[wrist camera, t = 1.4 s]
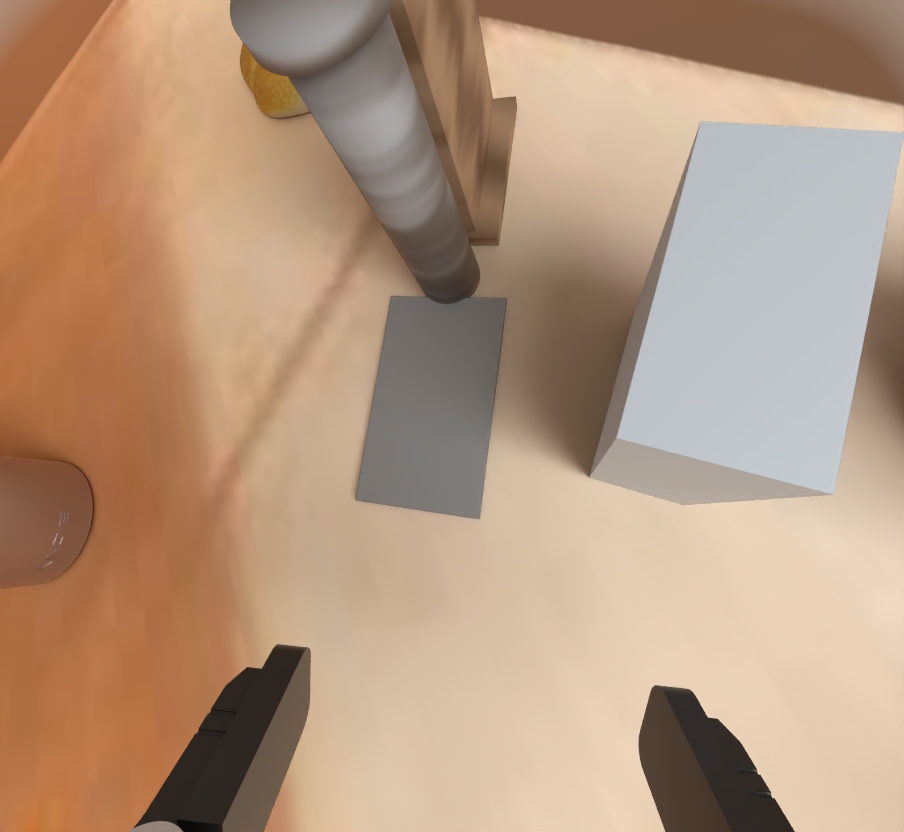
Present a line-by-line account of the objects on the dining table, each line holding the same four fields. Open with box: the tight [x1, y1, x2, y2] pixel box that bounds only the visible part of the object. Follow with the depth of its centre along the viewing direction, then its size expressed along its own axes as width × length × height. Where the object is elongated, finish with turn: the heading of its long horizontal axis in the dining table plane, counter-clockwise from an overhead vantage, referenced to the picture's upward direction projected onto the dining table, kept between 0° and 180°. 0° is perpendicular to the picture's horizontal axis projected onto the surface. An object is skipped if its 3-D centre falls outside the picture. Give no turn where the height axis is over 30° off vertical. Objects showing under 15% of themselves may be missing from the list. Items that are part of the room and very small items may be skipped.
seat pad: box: [356, 296, 507, 519], centre depth 28 cm, size 14×8×1 cm, turn 172°
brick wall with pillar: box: [230, 0, 517, 304], centre depth 23 cm, size 16×6×18 cm, turn 172°
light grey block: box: [589, 121, 904, 505], centre depth 18 cm, size 5×10×14 cm, turn 162°
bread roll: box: [240, 43, 310, 118], centre depth 36 cm, size 8×9×4 cm
